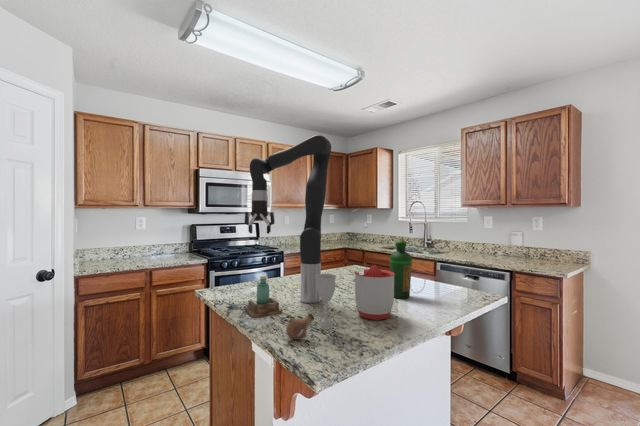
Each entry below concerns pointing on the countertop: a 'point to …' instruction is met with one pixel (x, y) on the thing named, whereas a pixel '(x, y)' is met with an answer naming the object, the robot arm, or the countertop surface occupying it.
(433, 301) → the countertop surface
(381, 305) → the citrus juicer
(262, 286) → the bottle
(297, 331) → the brown animal figurine
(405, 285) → the bottle
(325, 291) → the chalice
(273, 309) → the u rest
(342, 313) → the countertop surface
